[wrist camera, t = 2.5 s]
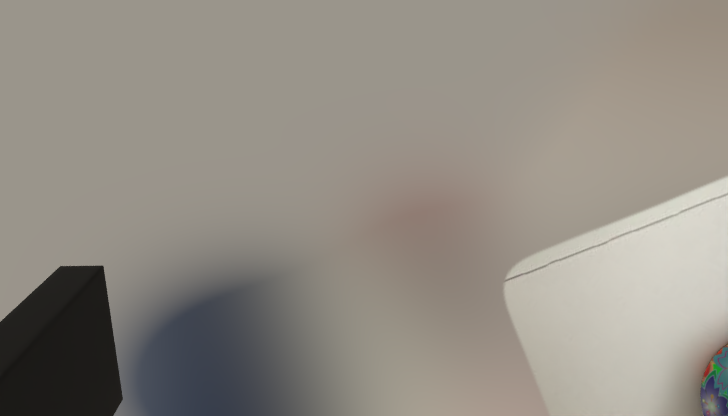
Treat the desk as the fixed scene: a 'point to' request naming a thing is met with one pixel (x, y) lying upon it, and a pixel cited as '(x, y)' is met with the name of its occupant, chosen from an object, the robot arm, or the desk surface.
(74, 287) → the robot arm
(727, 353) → the mug
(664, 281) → the desk surface
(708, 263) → the desk surface
